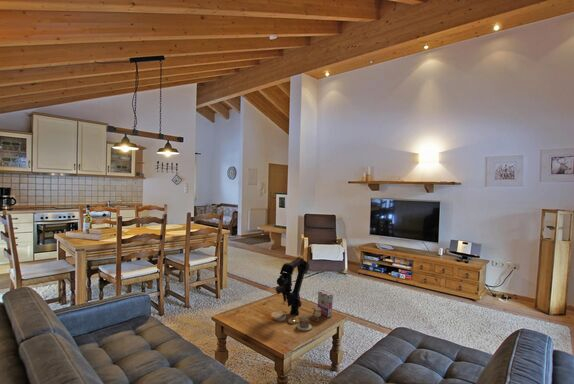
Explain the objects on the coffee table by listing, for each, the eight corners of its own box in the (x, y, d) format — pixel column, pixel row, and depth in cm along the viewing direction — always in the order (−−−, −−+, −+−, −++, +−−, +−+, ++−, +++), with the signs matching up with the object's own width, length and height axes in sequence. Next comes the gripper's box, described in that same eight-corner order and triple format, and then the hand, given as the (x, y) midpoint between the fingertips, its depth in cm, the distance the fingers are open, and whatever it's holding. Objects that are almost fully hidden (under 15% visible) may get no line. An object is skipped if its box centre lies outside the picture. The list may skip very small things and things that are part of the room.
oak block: (313, 312, 215) (313, 307, 215) (318, 312, 216) (318, 306, 216) (315, 315, 211) (315, 309, 211) (320, 314, 212) (320, 309, 212)
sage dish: (297, 323, 208) (297, 321, 208) (311, 324, 207) (311, 323, 207) (296, 330, 198) (296, 329, 198) (311, 331, 197) (311, 330, 197)
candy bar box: (332, 316, 221) (333, 294, 220) (327, 318, 218) (328, 295, 217) (321, 310, 230) (322, 289, 229) (316, 312, 227) (317, 290, 226)
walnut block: (299, 324, 204) (299, 317, 204) (306, 323, 205) (306, 316, 205) (301, 328, 199) (301, 320, 199) (308, 327, 201) (309, 320, 200)
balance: (289, 324, 206) (289, 317, 205) (287, 320, 211) (287, 314, 211) (321, 321, 212) (322, 315, 211) (319, 318, 217) (319, 311, 217)
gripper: (272, 278, 217) (272, 299, 218) (280, 287, 199) (279, 310, 200) (287, 277, 220) (286, 298, 221) (296, 286, 203) (295, 308, 203)
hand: (286, 303), depth 211 cm, fingers open, 9 cm apart
